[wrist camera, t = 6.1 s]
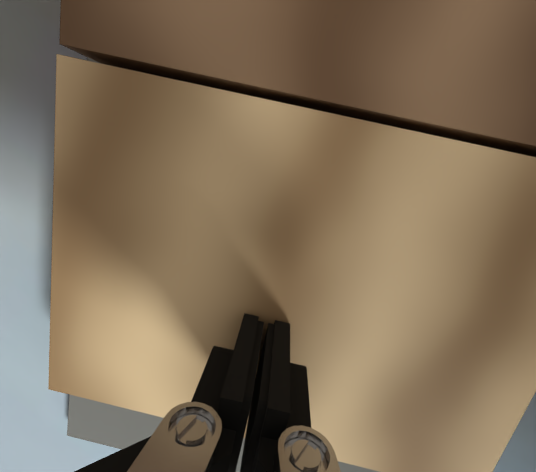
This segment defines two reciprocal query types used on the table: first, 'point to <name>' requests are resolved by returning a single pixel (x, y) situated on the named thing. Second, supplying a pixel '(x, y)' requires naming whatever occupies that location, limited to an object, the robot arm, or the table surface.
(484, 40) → the floor section
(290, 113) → the oak plank
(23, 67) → the table surface
